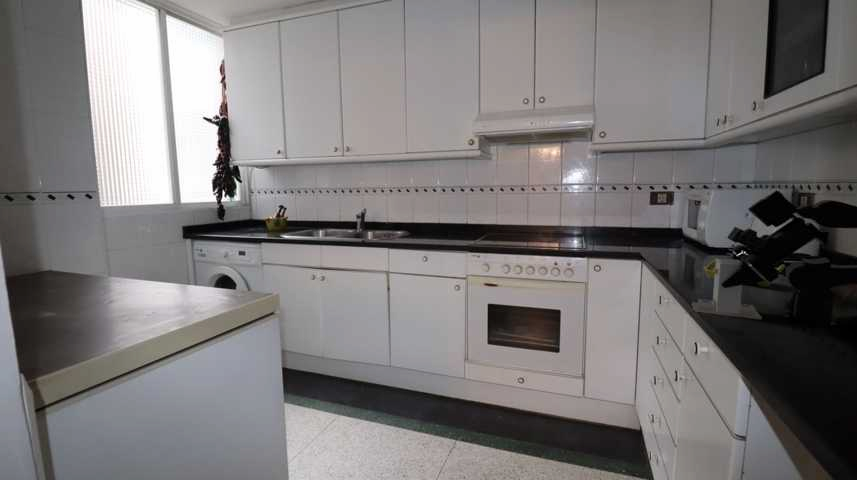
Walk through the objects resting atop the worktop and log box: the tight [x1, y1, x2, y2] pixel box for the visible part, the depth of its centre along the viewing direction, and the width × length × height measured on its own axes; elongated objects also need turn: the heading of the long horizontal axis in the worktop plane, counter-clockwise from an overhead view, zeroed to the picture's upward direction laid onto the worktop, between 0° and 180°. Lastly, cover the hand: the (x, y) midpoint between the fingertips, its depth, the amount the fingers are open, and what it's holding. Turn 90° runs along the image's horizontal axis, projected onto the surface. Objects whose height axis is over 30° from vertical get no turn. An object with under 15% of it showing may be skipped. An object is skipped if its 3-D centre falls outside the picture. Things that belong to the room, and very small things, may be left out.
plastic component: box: [703, 257, 786, 288], centre depth 128 cm, size 20×7×10 cm
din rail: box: [691, 298, 763, 320], centre depth 99 cm, size 13×7×2 cm, turn 62°
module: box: [712, 258, 743, 314], centre depth 98 cm, size 5×7×12 cm
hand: (720, 283), depth 99 cm, fingers closed on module, 7 cm apart
